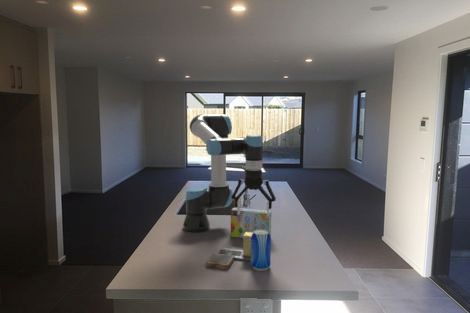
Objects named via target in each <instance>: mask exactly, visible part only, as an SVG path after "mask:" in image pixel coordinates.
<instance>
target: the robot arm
mask: <svg viewBox="0 0 470 313" xmlns="http://www.w3.org/2000/svg"><path fill="white" fill-rule="evenodd" d="M232 130H233V126H232V121H231V118H230V117H229V115H227V114H221V113H219V114H217V113H215V114H214V113H213V114H211V113H209V114H206V113H202V114H198V115H196V116H194V117H193V118H192V119H191V121H190V122H189V131H190V132H191V133H192V135H193V136H194V137H196V138H199V139H200V140H201V141H202V142H203V143H204V144H205V145H206V146H205V147H206V148H205V149H206V153H207V155H209V156H210V173H211V175H210V176H211V177H210V178H211V179H210V180H211V181H210V183H209V184H208V188H207V187H206V186H203V185H199V186H198V185H197V186H192V187H190V188H188V189H187V190H186V192H185V214H186V215H185V216H184V217H185V218H184V219H183V220H184V221H183V224H182V225H183V226H182V229H183V230H184V231H186V232H191V233H201V232H205V231H208V230H210V227H211V226H210V225H211V224H210V221H209V217H208V214H207V211H208V210H211V209H220V208H221V209H223V208H226V207H227V208H228V207H229V206H230V205H231V204H232V202H233V200H234V203H235V205H234V206H235V207H234V208H237V215H239V214H240V208H241V199H240V198H241V197H242V196H243V194H245V192H246V191H247V190H252V191H253V190H254V191H257V190H258V191H260V193H261V194H262V195H263V197H264V198H265V199H266V200H267V202H266V211H267V217H269V211H270V210H272V206H273V205H272V204H273V202H275V201H277V200H276V198H277V197H276V196H275V194H274V191H273V189H272V188H271V185H270V181H269V179H266V180H263V170H262V169H263V146H264V144H263V137H262V135H260V134H249V135H248V134H247V135H246V136H245V137H243V136H242V137H237V138H229V135H231V134H232V132H233V131H232ZM228 155H229V156H230V155H245V179H242V178H240V179H238V182H237V186H236V188H235V189H234V191H233V189H232V187H231V186H230V184H229V183H228V182H227V159H226V158H227V156H228ZM243 184H245V187H244V188H243V189H242V190H241V192H240V193H239V194H238V192H239V189H240V188H241V186H242V185H243ZM263 185H264V186H265V187H266V189H267V191H268V192H267V191H265V189H264V187H263ZM268 193H269V194H268ZM237 194H238V195H237Z"/></svg>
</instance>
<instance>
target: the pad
mask: <svg viewBox="0 0 470 313" xmlns="http://www.w3.org/2000/svg"><path fill="white" fill-rule="evenodd" d="M234 261H235V260H234V256H232V255H223V254H218V253H215V252H214V253H212V254H211V256H210V257H209V258H208V259H207V260H206V261H205V267H206V268H212V269H220V270H227V271H228V270H229V269H230V268H231V267H232V264H233V263H234Z"/></svg>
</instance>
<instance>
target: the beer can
mask: <svg viewBox="0 0 470 313" xmlns="http://www.w3.org/2000/svg"><path fill="white" fill-rule="evenodd" d="M253 232H254V233H253V234H252V236H251V261H250V266H251V267H252V269H253V270H254V271H258V272H265V271H267V270H269V268H270V267H271V254H272V253H271V250H272V247H271V246H272V235H271V236H270V234H269V231H267V230H264V229H257V230H254V231H253Z"/></svg>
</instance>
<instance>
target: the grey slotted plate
mask: <svg viewBox="0 0 470 313" xmlns="http://www.w3.org/2000/svg"><path fill="white" fill-rule="evenodd" d="M217 254H223V255H232V256H234V261H235V260H236V261H243V262H251V258H246V257H243V249H234V248H227V247H226V248H225V247H222V249H220V250H219V252H218V253H217Z"/></svg>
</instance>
